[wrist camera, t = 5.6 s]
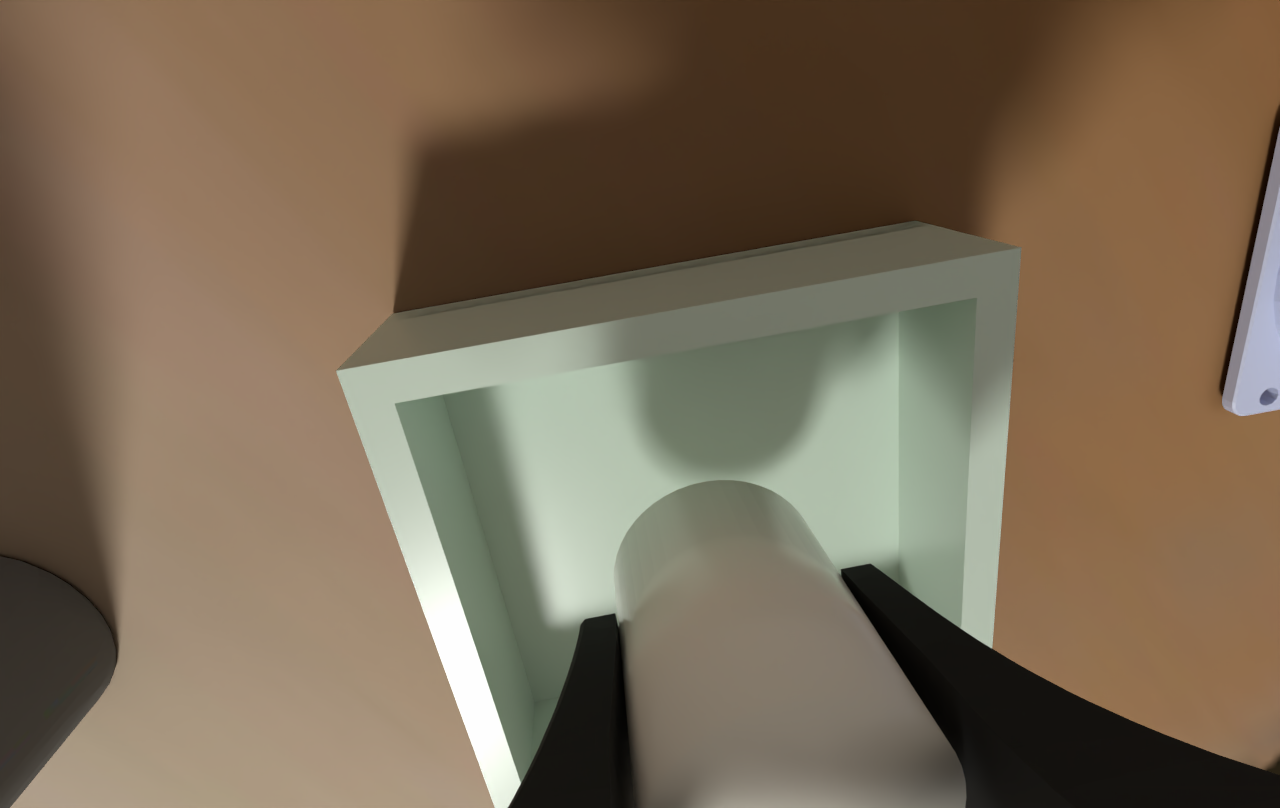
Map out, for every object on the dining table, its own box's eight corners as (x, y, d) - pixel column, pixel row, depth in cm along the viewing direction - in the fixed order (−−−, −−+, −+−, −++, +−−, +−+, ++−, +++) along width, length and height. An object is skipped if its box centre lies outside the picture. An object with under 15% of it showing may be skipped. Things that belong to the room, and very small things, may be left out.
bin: (915, 220, 16) (1021, 247, 12) (911, 627, 21) (985, 734, 17) (392, 313, 15) (336, 370, 12) (516, 705, 20) (503, 832, 17)
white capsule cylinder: (809, 463, 14) (971, 666, 8) (820, 635, 15) (962, 906, 10) (598, 500, 14) (613, 734, 8) (630, 670, 15) (662, 967, 10)
